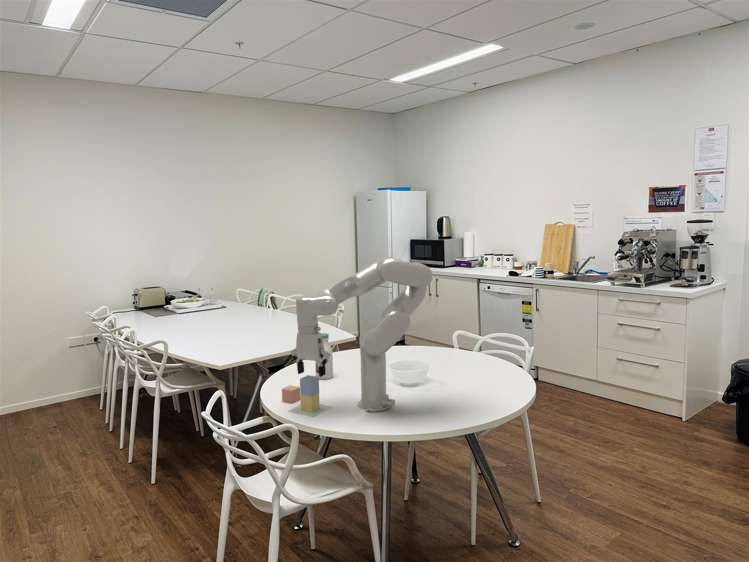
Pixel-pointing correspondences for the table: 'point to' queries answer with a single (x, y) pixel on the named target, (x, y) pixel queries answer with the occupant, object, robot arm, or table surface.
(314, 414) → the build plate
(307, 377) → the brick
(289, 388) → the brick
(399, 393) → the table surface
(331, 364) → the milk bottle
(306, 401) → the brick base
